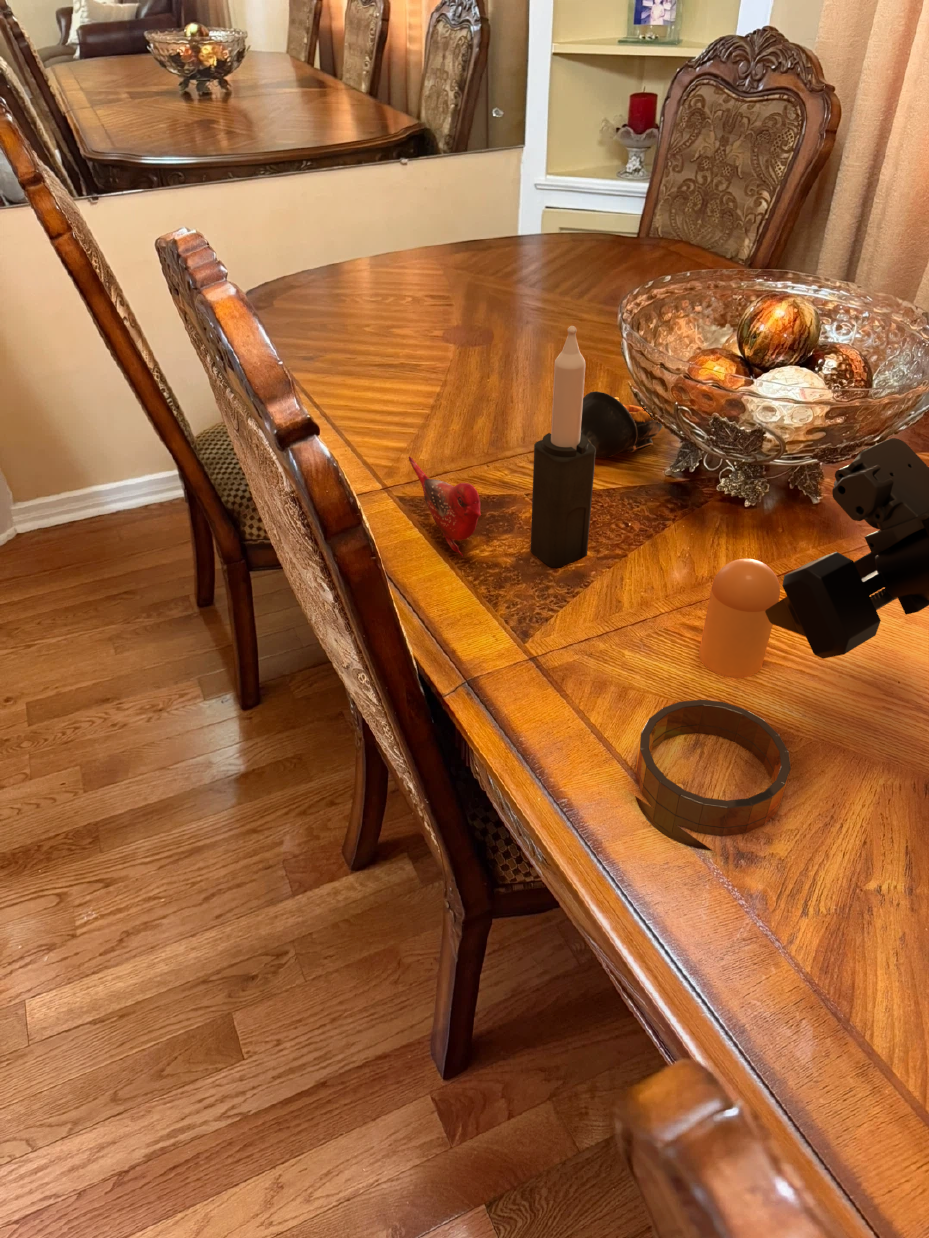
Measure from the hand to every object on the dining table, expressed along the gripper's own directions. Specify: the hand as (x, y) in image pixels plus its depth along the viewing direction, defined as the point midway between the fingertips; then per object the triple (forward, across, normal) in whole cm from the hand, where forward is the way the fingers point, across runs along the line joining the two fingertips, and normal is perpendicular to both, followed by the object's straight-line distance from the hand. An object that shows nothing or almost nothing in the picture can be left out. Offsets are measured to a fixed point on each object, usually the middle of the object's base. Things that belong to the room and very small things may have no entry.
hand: (807, 595), depth 70 cm
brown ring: (+6, +12, +11) cm, 18 cm away
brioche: (+13, 0, +5) cm, 13 cm away
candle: (+30, 0, -12) cm, 32 cm away
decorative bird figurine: (+37, +9, -19) cm, 42 cm away
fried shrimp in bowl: (+40, -23, -22) cm, 51 cm away
